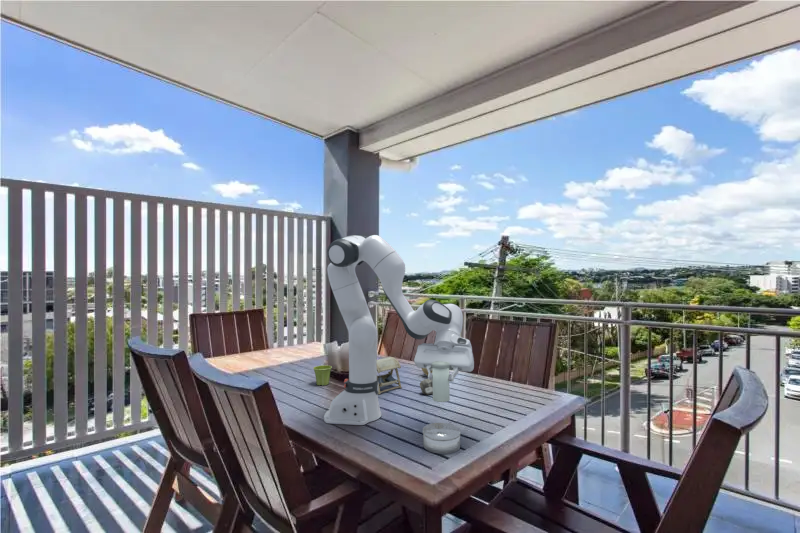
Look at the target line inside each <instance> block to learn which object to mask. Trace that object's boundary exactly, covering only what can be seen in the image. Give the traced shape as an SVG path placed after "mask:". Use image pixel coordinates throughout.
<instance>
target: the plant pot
mask: <svg viewBox="0 0 800 533" xmlns="http://www.w3.org/2000/svg"><path fill="white" fill-rule="evenodd" d="M332 368H333V367H332V365H326V364H325V365H316V366H314V367H313V368H312V369H313V371H314V375H315V382H316V385H317V386H320V385H322V386H321V387H323V385H324V386H327V385H329V383H330V376H331V371H332Z"/></svg>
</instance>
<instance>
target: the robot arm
mask: <svg viewBox="0 0 800 533" xmlns="http://www.w3.org/2000/svg"><path fill="white" fill-rule="evenodd" d="M326 255H327V259H328V261H329V264H328V265H327V277H328V281H329V284H330V287H331V291H332V293H333V296H334V299H335V301H336V304H337V307H338V310H339V313H340V314H341V317H342V318H343V321H344V324H345V326H346V329H347V333H348V378H345V379H344V381H343V390H342V391H341V392H340V393H339V394H337V395H336V396H335V397H333V399H332V400H331V403H330V406H329V409H328V410H326V412H325V413H324V415H323V421H324V423H326V424H335V425H354V426H363V425H366V424H368V423H371V422H374V421H376V420H378V419H380V418H381V417H382V411H381V408H380V402H379V394H378V379H377V376H378V372H377V360H378V329H377V326H376V324H375V322H374V320H373V316H372V314H371V311H370V309H369V305H368V303H367V301H366V297H365V294H364V292H363V289H362V286H361V284H360V280H359V279H358V277H357V276H358V275H357V274H356V267H357V266H360V265H361V264H363V263H364V262H365V263H366V264H367V265H368V266H369V267H370V269H371V270H372V271H373V272H374V273H375V274H376V276H377V278H378V279H379V281H380V284H381V287H382V291H383V293H384V295H385V297H386V298H387V300H388V302H389V303H390V305H391V306H392V308H393V309H394V311H395V312H396V314H397V315H398V317H399V318H400V320H401V322H402V325H403V327H404V330H405V332H406V333H407V334H408V335H409V336H410V338H413V339H415V340H424V339H425V338H427V337H428V336H429V335H430V334H431V333H432V332H433V331H435V336H434V338H435V339H434V343H432V342H431V343H426V342H422V343H420V344H419V345H417V349H416V353H415V356H414V359H413V361H414V365H415V366H416V368H418V369H421V368H427V371H428V376H427V379H429V380H433V376H432V373H430V371H432V362H434V361H444V362H449V371H453V372H452V373H451V374H450V373H449V377H448V380H449V383H450V382H453V383H454V382H455V381H454V380H455V378H456V377H457V375H458V374H459V372H469V373H471V372H472V371H473V370H474V368H475V361H474V360H475V358H474V353H473V346H472V344H471V340H469V339H468V338H464V337H462V336H461V333H462V331H463V325H464V324H463V323H464V316H463V311H462V309H461V308H460V306H458V305H457V304H454V303H444V304H443V303H442V302H440V301H438V300H435V299H428V300H426V301H424V302H423V303H422V304H421V305H419V307H418V308H417V309H416V310H414V309H413V307H412V305H411V304H410V303H409V301H408V300H407V298H406V296H405V294H404V292H403V282H404V281H403V280H404V278H405V274H406V264H405V262H404V259H403V258H402V257H401V256H400V254H399V253H398V252H397V251H396V250H395V249H394V248H393V247H392V245H391V244H390V243H388V242H387V241H386V240H385V239H384V238H383V237H381V236H380V235H377V234H373V235H369V236H366V235H362V234H355V235H347V236H345V237H343V238H337V239H336V240H334V241H332V242H331V243H330V244H329V245H328V247H327V249H326Z"/></svg>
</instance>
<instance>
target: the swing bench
mask: <svg viewBox="0 0 800 533" xmlns="http://www.w3.org/2000/svg"><path fill="white" fill-rule="evenodd" d="M399 369H401V364H400V362H399V360H398V359H396V358H395V357H393V356H388V357H384V358H380V359H377V374H378V375H377V379H378V396H379V395H381V393H385V392H389V391H391V390H392V391H393V390H394V389H402V384H401V379H400V375H399ZM394 370H395V371H394ZM387 371H388V372H387ZM383 372H387V373H385V374H380V373H383ZM393 372H395V375H396V378H397V379H396V378H394V377H393ZM393 384H394V385H396V386H394V387H391V388H387V389H383V390H381V388H383V387H387V386H391V385H393ZM397 385H398V386H397Z"/></svg>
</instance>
